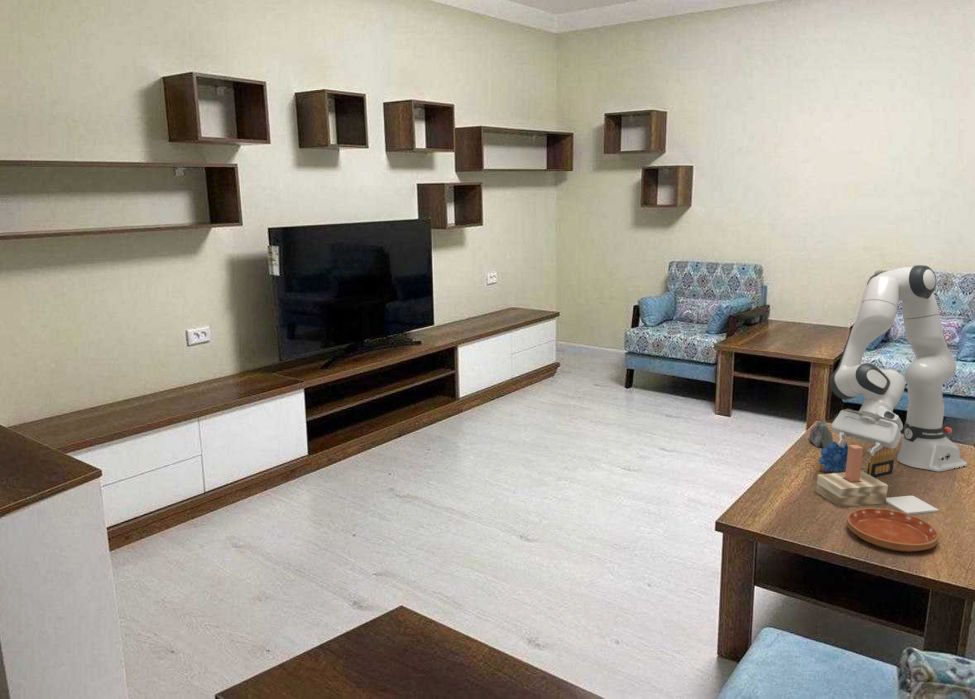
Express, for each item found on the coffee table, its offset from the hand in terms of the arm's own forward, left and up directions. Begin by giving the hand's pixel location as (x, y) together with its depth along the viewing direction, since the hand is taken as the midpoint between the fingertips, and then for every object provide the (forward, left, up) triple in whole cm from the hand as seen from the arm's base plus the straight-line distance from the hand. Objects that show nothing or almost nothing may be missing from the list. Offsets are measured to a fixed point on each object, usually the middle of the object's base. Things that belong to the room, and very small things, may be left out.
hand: (854, 450), depth 241 cm
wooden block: (+2, +3, -12) cm, 12 cm away
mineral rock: (-20, -45, -15) cm, 52 cm away
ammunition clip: (-20, -12, -15) cm, 28 cm away
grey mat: (-12, +12, -15) cm, 22 cm away
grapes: (-7, -17, -15) cm, 24 cm away
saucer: (+8, +29, -15) cm, 34 cm away
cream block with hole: (+2, +3, -15) cm, 15 cm away
